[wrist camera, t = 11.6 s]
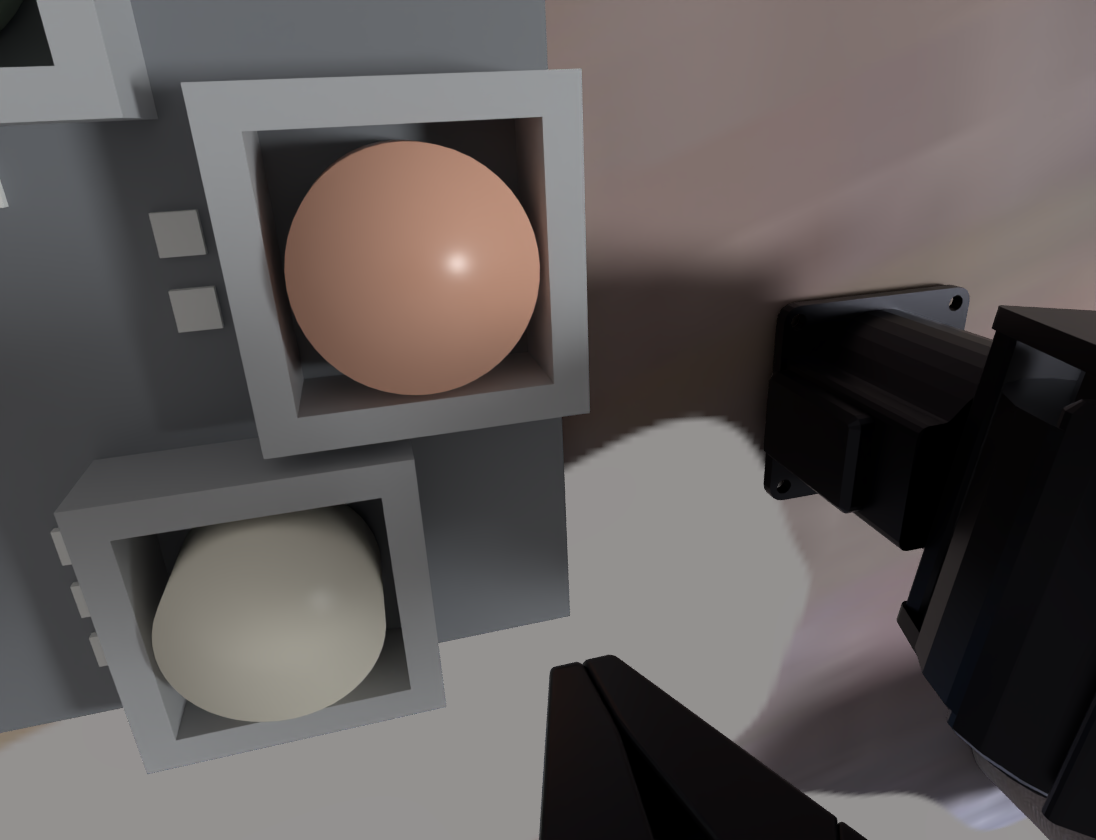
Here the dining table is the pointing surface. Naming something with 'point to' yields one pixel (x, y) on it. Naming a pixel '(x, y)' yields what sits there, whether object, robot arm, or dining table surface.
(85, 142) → the button panel
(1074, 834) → the pillar candle
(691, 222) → the dining table surface
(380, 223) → the terracotta button
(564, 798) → the robot arm
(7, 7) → the sage button
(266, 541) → the cream button
